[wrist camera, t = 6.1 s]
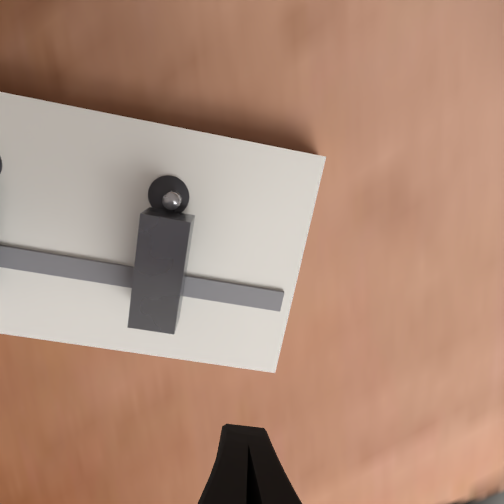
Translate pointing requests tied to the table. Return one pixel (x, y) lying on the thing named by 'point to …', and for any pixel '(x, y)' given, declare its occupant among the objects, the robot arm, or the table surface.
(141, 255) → the block
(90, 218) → the board
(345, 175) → the table surface
